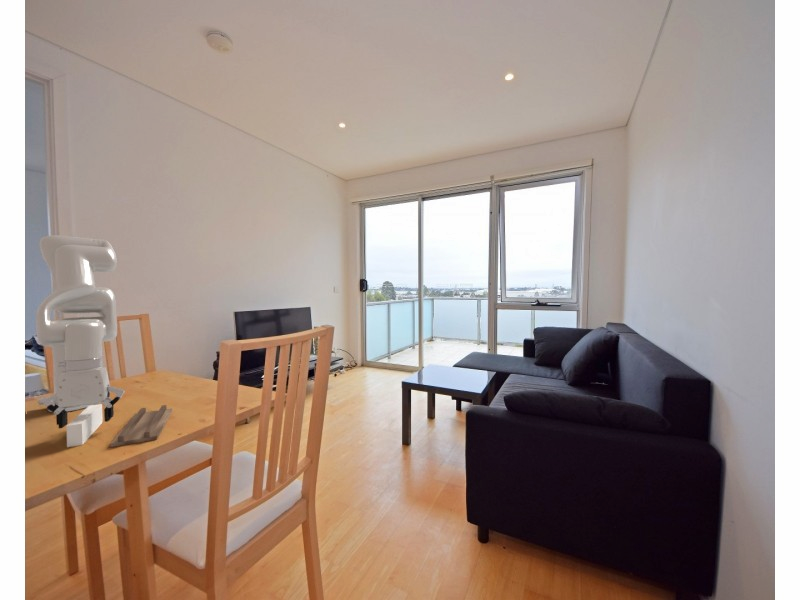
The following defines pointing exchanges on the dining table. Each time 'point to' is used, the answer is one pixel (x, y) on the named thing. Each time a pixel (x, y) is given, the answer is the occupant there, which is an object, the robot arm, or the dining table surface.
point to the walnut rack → (143, 427)
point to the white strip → (84, 425)
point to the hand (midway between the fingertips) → (86, 423)
